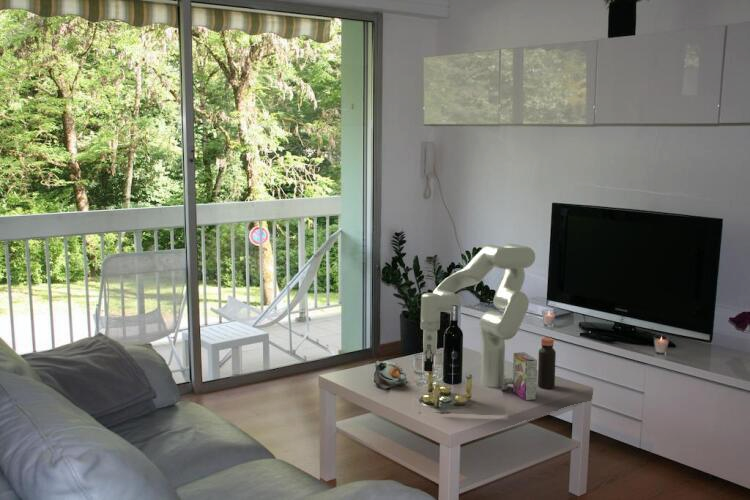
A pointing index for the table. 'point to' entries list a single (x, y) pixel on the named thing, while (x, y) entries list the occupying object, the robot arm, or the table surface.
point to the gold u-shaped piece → (443, 390)
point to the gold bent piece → (463, 398)
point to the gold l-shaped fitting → (432, 396)
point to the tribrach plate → (446, 403)
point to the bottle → (546, 364)
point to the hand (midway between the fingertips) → (428, 367)
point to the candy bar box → (524, 376)
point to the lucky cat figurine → (388, 375)
